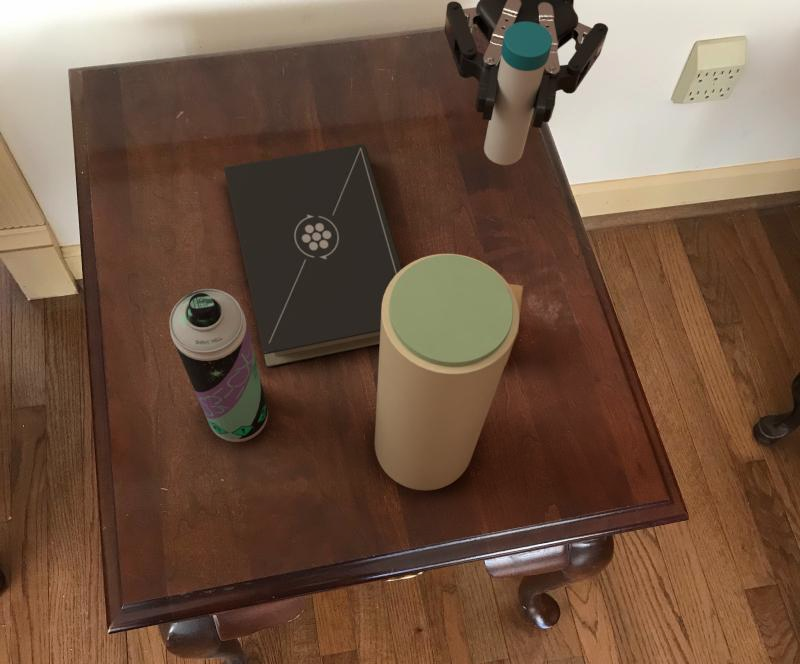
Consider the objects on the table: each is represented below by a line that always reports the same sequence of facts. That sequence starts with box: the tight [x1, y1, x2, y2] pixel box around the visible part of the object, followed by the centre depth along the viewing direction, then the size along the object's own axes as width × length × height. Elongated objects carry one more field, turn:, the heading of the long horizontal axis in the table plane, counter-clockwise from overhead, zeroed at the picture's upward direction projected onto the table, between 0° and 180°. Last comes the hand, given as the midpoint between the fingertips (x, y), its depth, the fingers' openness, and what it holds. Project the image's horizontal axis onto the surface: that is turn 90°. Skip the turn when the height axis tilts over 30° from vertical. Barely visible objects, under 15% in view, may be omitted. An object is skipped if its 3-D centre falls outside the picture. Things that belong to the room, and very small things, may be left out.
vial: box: [483, 22, 552, 166], centre depth 67 cm, size 11×4×11 cm
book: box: [223, 143, 403, 368], centre depth 82 cm, size 22×15×3 cm
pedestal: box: [374, 253, 520, 491], centre depth 65 cm, size 9×9×24 cm
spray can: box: [169, 288, 269, 443], centre depth 67 cm, size 6×6×20 cm
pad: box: [389, 255, 513, 366], centre depth 54 cm, size 8×8×1 cm
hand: (513, 115), depth 65 cm, fingers closed on vial, 3 cm apart
